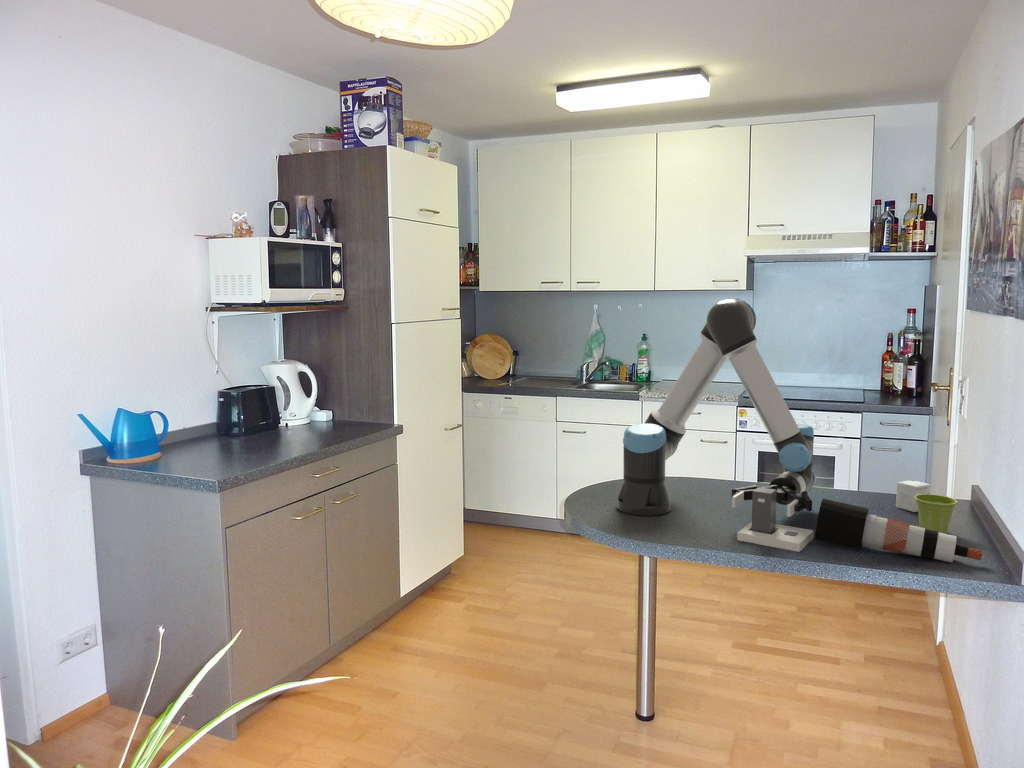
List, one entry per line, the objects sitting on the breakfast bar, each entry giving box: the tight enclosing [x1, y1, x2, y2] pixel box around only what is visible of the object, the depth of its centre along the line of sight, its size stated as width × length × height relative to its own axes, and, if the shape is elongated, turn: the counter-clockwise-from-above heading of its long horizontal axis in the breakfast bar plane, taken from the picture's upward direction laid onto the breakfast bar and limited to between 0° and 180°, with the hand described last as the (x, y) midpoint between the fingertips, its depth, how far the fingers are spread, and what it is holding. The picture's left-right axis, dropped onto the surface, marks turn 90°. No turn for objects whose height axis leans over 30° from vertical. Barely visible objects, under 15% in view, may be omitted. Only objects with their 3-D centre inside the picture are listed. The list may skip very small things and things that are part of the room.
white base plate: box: [736, 521, 815, 553], centre depth 189 cm, size 15×12×2 cm
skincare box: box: [895, 479, 931, 513], centre depth 213 cm, size 6×6×7 cm
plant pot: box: [915, 493, 958, 534], centre depth 193 cm, size 9×9×9 cm
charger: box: [751, 486, 777, 535], centre depth 190 cm, size 4×5×12 cm
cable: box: [814, 498, 983, 564], centre depth 177 cm, size 10×34×10 cm, turn 58°
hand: (760, 506), depth 187 cm, fingers open, 13 cm apart
